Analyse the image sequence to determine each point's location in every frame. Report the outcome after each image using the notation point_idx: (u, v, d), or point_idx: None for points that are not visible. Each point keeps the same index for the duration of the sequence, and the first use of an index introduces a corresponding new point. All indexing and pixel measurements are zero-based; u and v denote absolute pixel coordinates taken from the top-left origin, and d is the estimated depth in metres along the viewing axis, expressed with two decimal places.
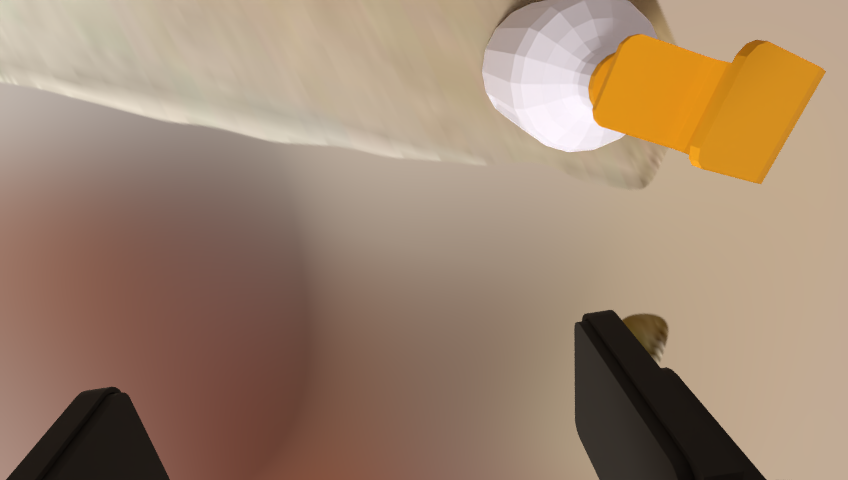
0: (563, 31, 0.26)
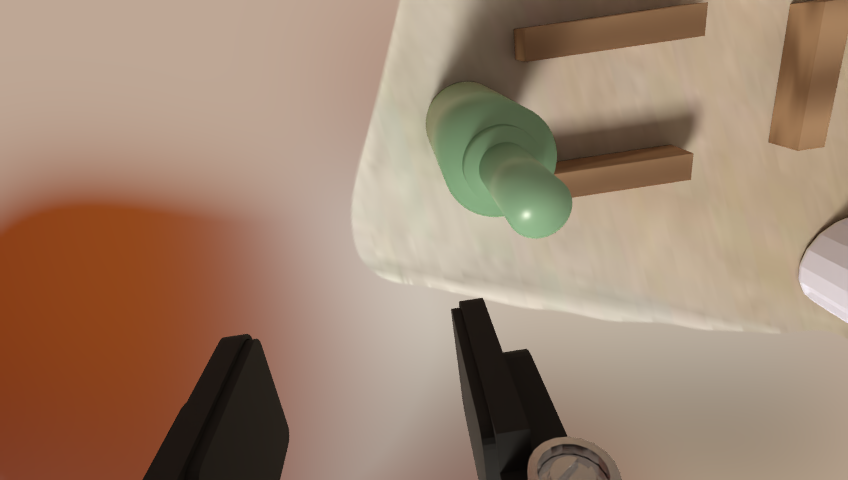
0: None
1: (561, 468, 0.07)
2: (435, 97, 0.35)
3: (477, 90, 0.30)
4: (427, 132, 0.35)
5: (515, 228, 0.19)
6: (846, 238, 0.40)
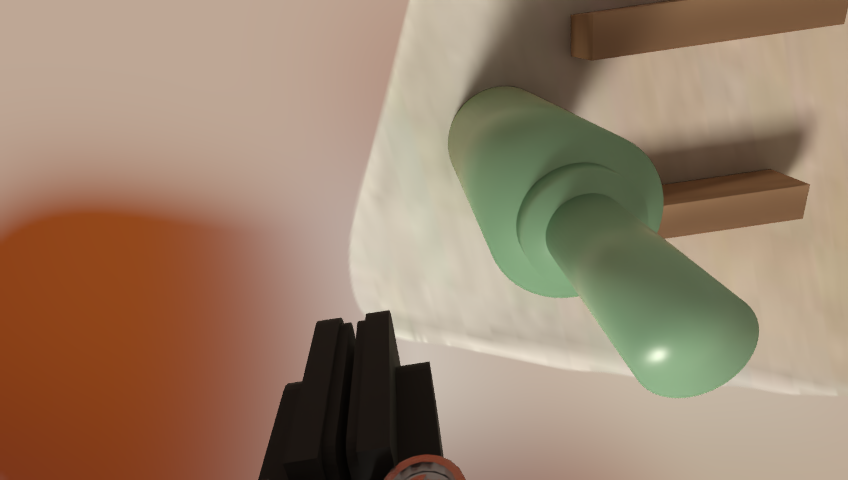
0: None
1: None
2: (461, 107, 0.26)
3: (528, 102, 0.21)
4: (450, 154, 0.26)
5: (645, 382, 0.10)
6: None
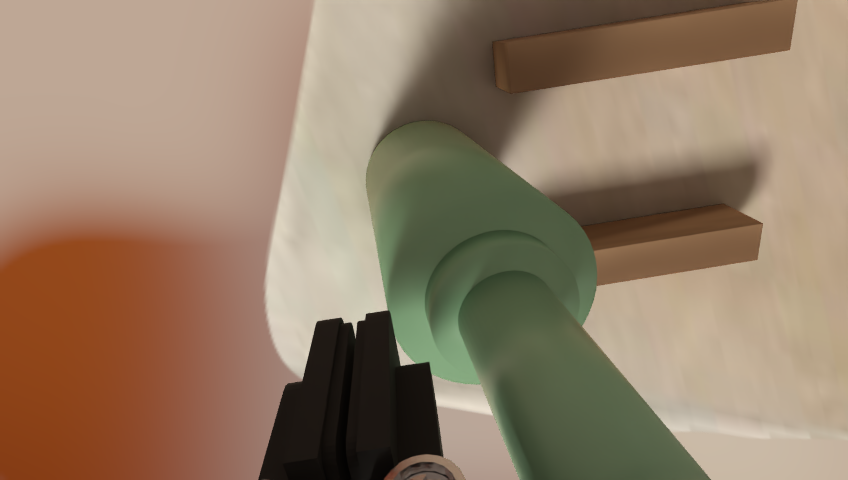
0: None
1: None
2: (378, 145, 0.23)
3: (443, 145, 0.18)
4: (368, 199, 0.23)
5: None
6: None
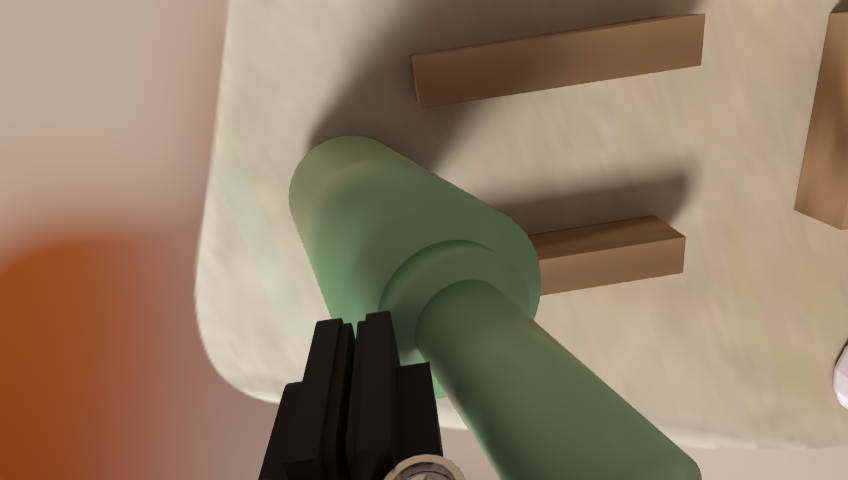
0: None
1: None
2: (300, 162, 0.22)
3: (374, 158, 0.18)
4: None
5: None
6: None
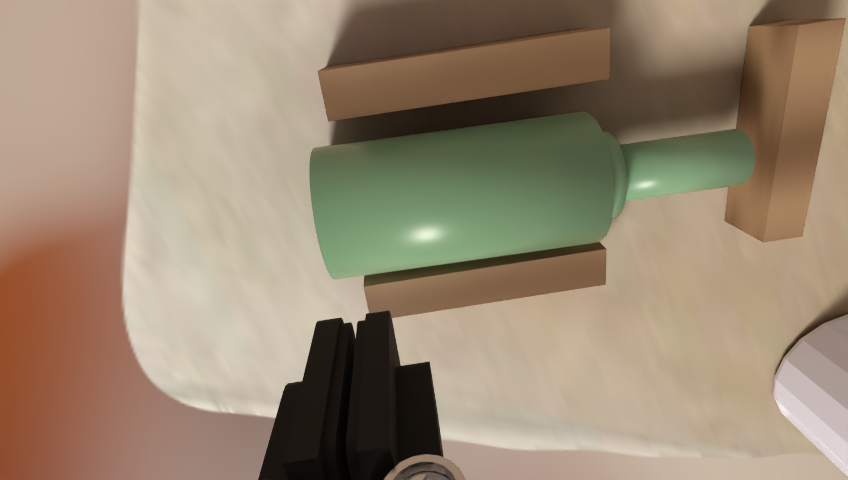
0: None
1: None
2: (312, 181, 0.19)
3: (445, 131, 0.21)
4: (350, 237, 0.19)
5: (746, 179, 0.22)
6: (837, 352, 0.28)
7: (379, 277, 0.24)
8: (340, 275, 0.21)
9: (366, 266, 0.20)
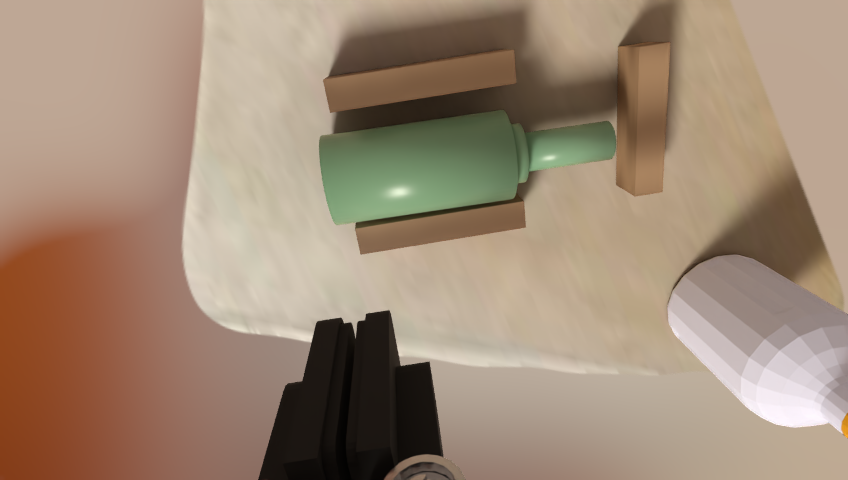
0: (805, 356, 0.30)
1: None
2: (321, 160, 0.29)
3: (409, 124, 0.31)
4: (346, 196, 0.30)
5: (612, 155, 0.32)
6: (704, 282, 0.38)
7: (366, 223, 0.34)
8: (340, 222, 0.31)
9: (357, 216, 0.31)
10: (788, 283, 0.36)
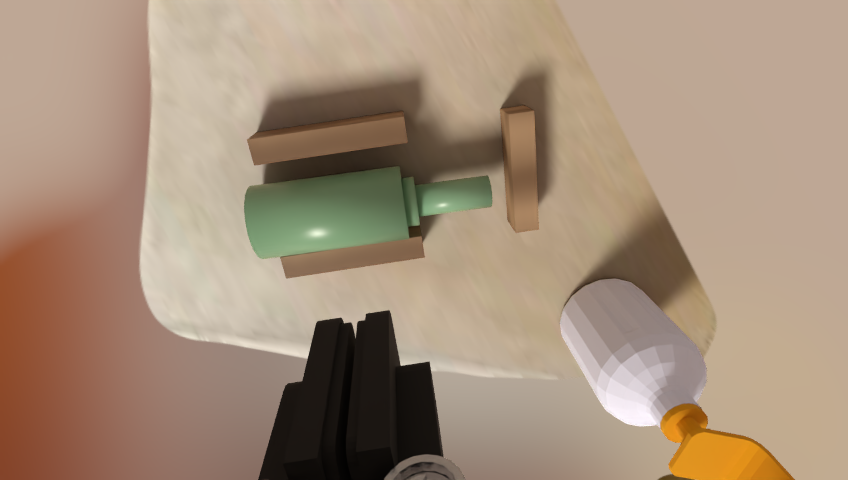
0: (639, 369, 0.37)
1: None
2: (245, 213, 0.36)
3: (320, 180, 0.38)
4: (267, 242, 0.37)
5: (491, 204, 0.39)
6: (584, 302, 0.45)
7: None
8: (266, 257, 0.39)
9: (279, 254, 0.38)
10: (648, 306, 0.43)
